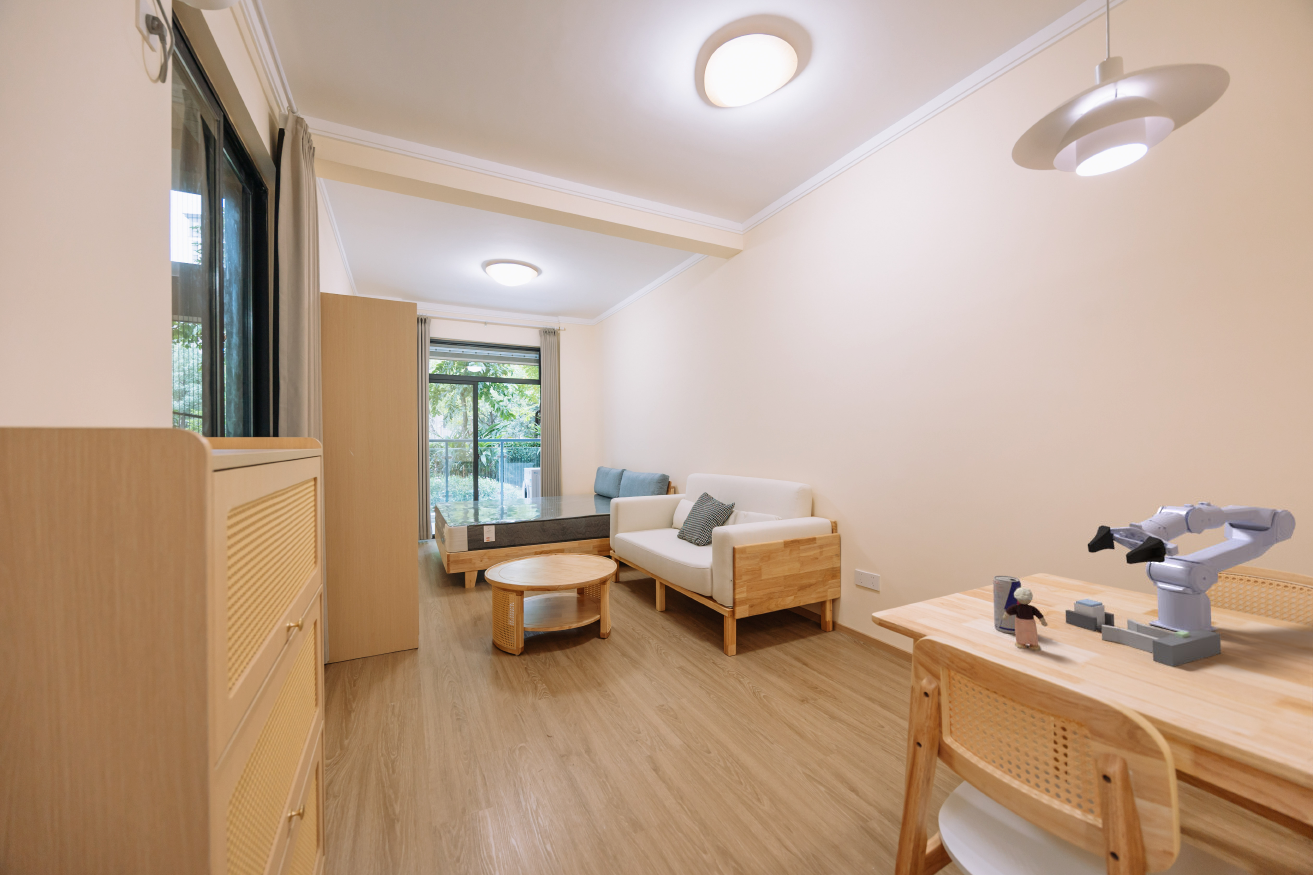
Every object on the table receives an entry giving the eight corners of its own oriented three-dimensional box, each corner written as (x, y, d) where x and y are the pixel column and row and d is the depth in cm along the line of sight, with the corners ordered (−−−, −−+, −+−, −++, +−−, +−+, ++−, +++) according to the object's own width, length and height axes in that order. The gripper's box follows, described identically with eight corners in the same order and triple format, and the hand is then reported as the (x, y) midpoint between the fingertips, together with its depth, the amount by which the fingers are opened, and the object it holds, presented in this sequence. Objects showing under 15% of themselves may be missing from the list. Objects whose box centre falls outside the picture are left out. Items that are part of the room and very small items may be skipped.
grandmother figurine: (1042, 645, 109) (1040, 586, 109) (1050, 652, 106) (1047, 591, 106) (1001, 641, 112) (999, 583, 112) (1006, 648, 108) (1004, 588, 108)
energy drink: (1027, 634, 115) (1025, 581, 115) (1000, 633, 116) (999, 581, 116) (1015, 626, 120) (1013, 575, 120) (990, 625, 121) (988, 575, 121)
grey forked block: (1137, 629, 116) (1136, 609, 116) (1221, 653, 103) (1220, 630, 103) (1091, 640, 111) (1090, 619, 111) (1172, 666, 98) (1171, 642, 98)
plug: (1085, 621, 123) (1085, 598, 123) (1105, 626, 119) (1104, 603, 119) (1074, 623, 121) (1073, 600, 121) (1093, 629, 117) (1092, 605, 117)
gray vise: (1100, 614, 126) (1099, 602, 126) (1132, 623, 120) (1131, 610, 120) (1064, 622, 122) (1064, 609, 122) (1095, 631, 116) (1095, 618, 116)
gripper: (1114, 508, 122) (1071, 528, 119) (1191, 524, 108) (1144, 547, 105) (1118, 535, 123) (1075, 555, 120) (1194, 555, 109) (1148, 578, 106)
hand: (1108, 553), depth 112 cm, fingers open, 7 cm apart
